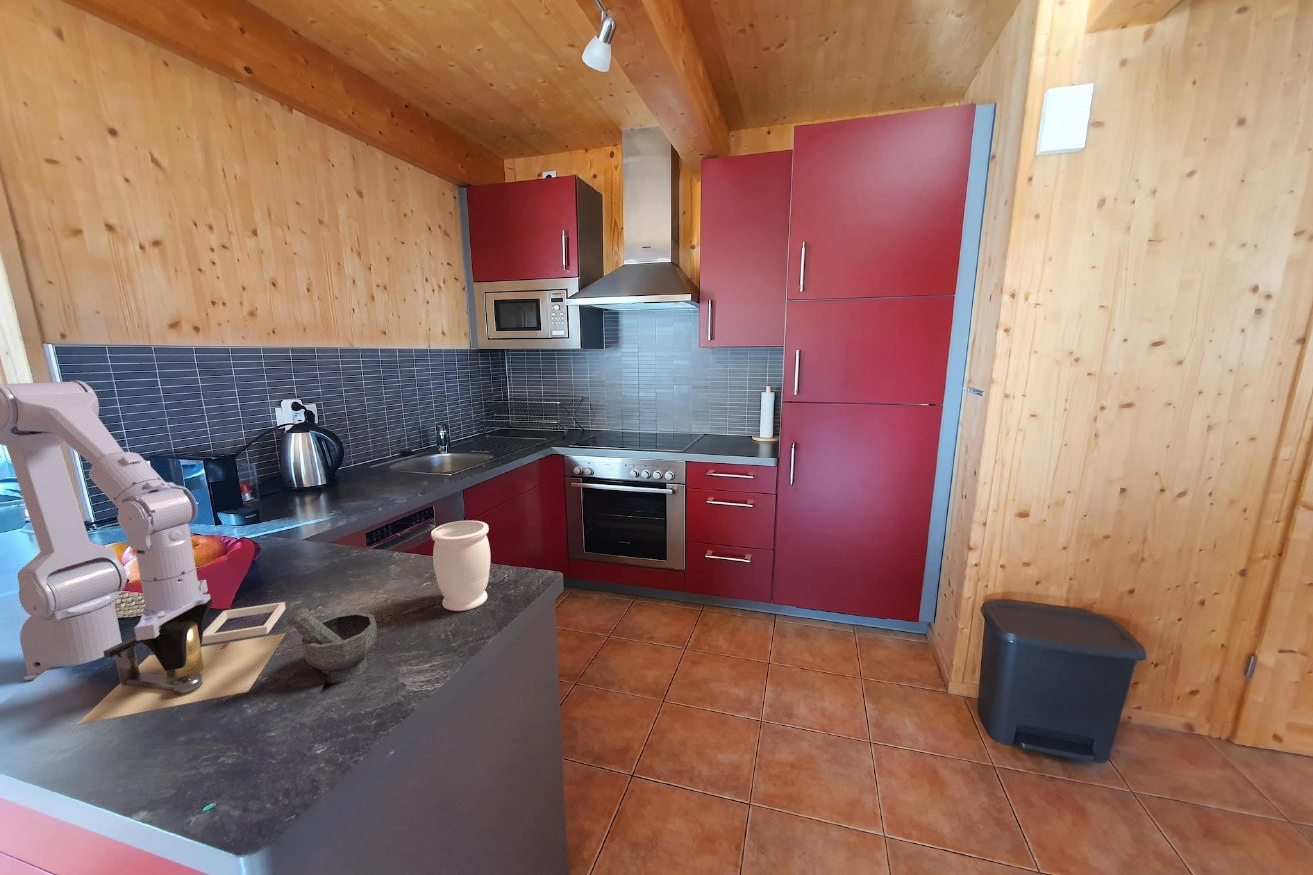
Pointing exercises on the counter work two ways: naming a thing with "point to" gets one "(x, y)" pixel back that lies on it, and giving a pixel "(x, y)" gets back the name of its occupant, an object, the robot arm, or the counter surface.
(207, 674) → the crank board
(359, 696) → the counter surface
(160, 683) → the crank
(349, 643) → the mortar and pestle
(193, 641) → the brass cylinder
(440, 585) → the jar
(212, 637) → the tray
